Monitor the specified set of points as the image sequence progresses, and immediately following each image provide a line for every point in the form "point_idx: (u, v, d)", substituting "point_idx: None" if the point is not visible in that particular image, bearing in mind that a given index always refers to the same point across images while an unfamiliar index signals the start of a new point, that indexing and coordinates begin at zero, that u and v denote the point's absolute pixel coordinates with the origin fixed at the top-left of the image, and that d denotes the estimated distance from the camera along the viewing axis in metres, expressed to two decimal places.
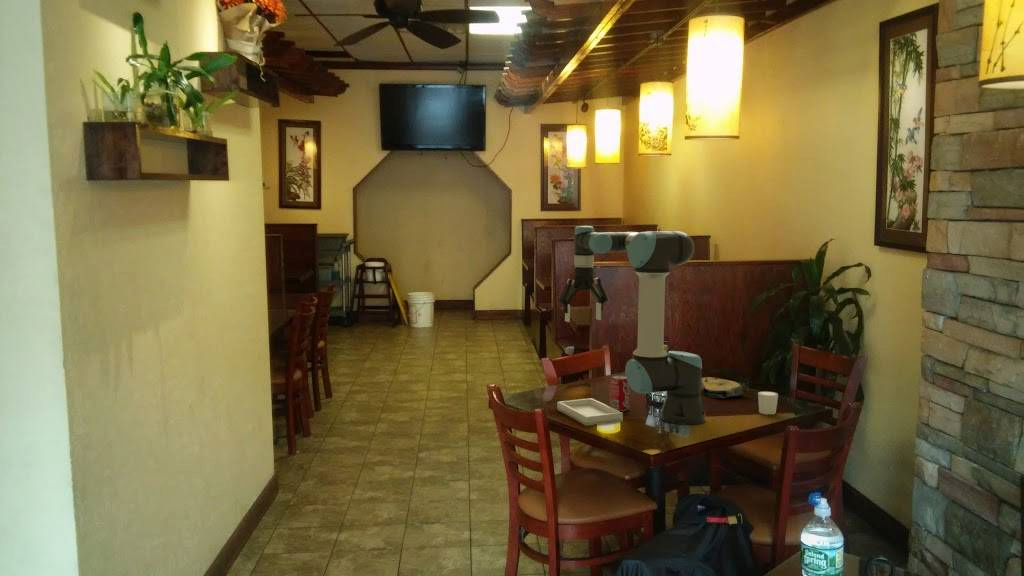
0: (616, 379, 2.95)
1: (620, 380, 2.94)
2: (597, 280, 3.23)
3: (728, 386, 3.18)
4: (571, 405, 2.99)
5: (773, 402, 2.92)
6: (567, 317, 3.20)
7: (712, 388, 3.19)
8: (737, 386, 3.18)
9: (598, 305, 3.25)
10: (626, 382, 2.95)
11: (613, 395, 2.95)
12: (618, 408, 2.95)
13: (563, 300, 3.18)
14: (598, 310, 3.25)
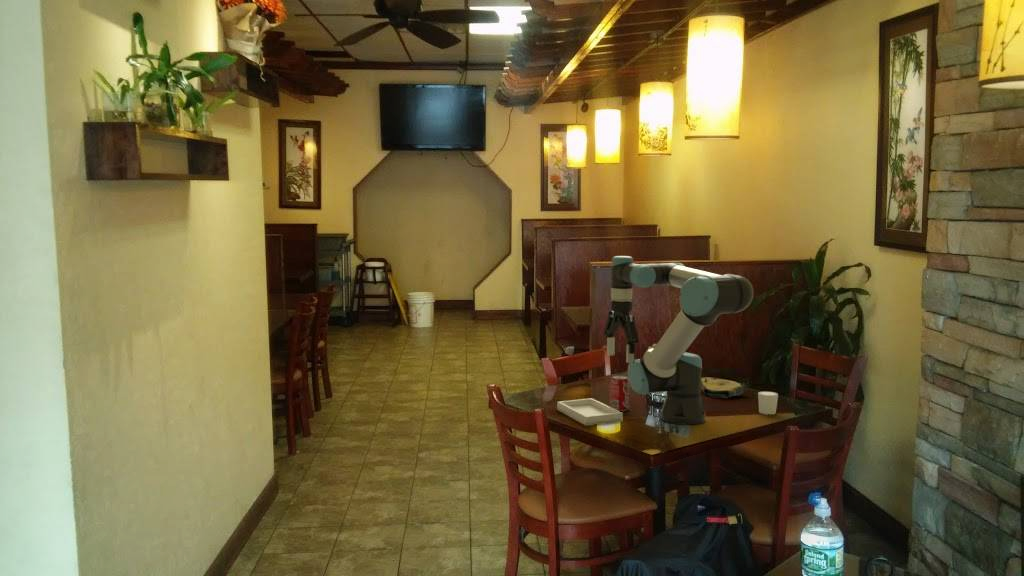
0: (616, 379, 2.95)
1: (620, 380, 2.94)
2: None
3: (729, 386, 3.18)
4: (571, 405, 2.99)
5: (773, 402, 2.92)
6: None
7: (714, 388, 3.18)
8: (738, 385, 3.18)
9: None
10: (626, 382, 2.95)
11: (613, 395, 2.95)
12: (618, 408, 2.95)
13: (605, 331, 3.04)
14: None
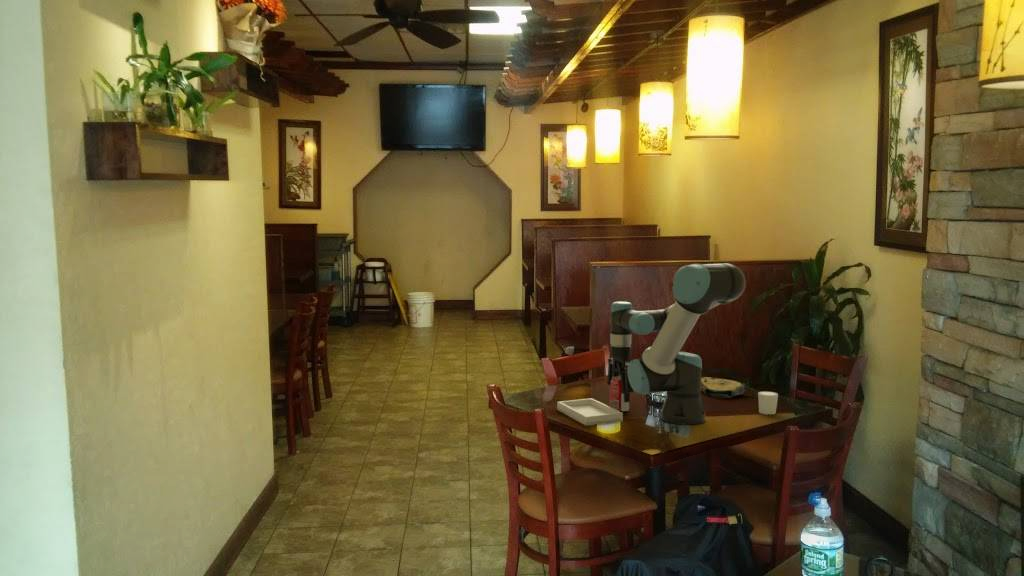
0: (616, 379, 2.95)
1: (620, 380, 2.94)
2: None
3: (731, 386, 3.19)
4: (571, 405, 2.99)
5: (773, 402, 2.92)
6: None
7: (716, 388, 3.18)
8: (739, 385, 3.19)
9: None
10: None
11: (613, 395, 2.95)
12: (618, 408, 2.95)
13: (608, 381, 3.03)
14: None
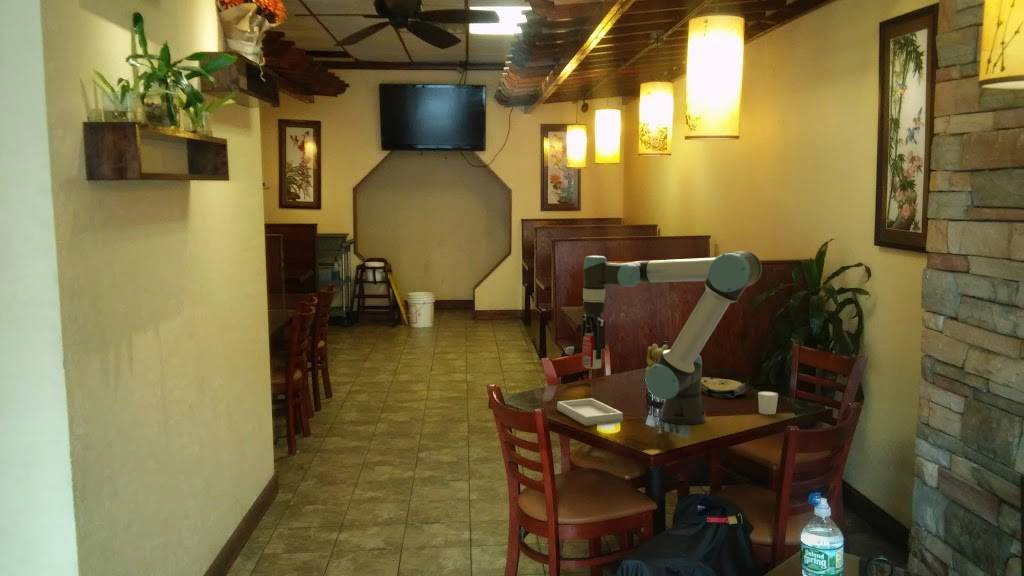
0: (588, 335, 2.86)
1: (592, 336, 2.86)
2: None
3: (733, 385, 3.19)
4: (571, 405, 2.99)
5: (773, 402, 2.92)
6: None
7: (718, 388, 3.18)
8: (740, 384, 3.21)
9: None
10: None
11: (585, 352, 2.87)
12: (590, 365, 2.86)
13: (581, 338, 2.94)
14: None
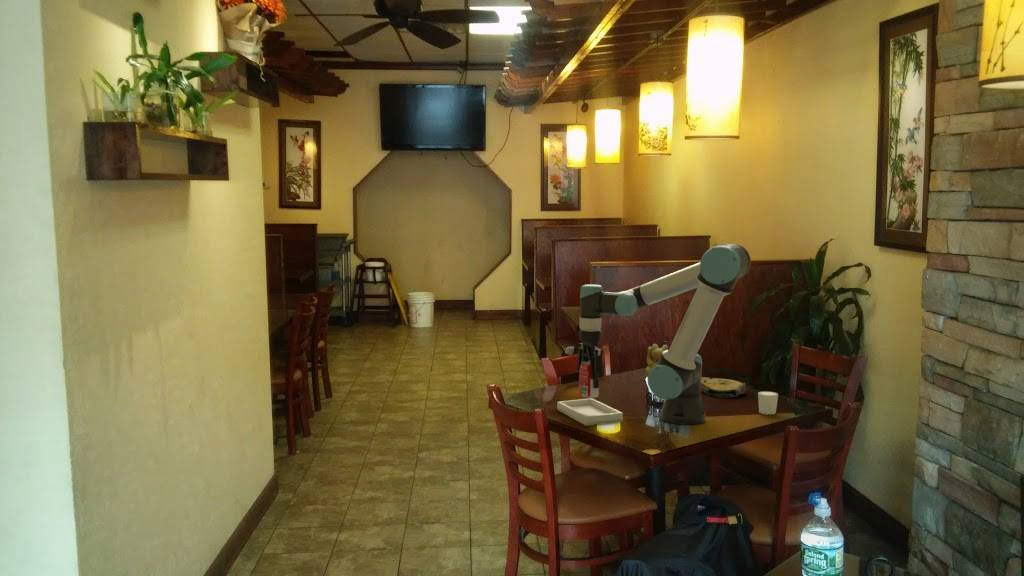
0: (585, 364, 2.86)
1: (589, 365, 2.86)
2: None
3: (733, 385, 3.20)
4: (571, 405, 2.99)
5: (773, 402, 2.92)
6: None
7: (720, 388, 3.19)
8: (740, 384, 3.21)
9: None
10: None
11: (582, 381, 2.87)
12: (587, 394, 2.86)
13: (577, 367, 2.94)
14: None
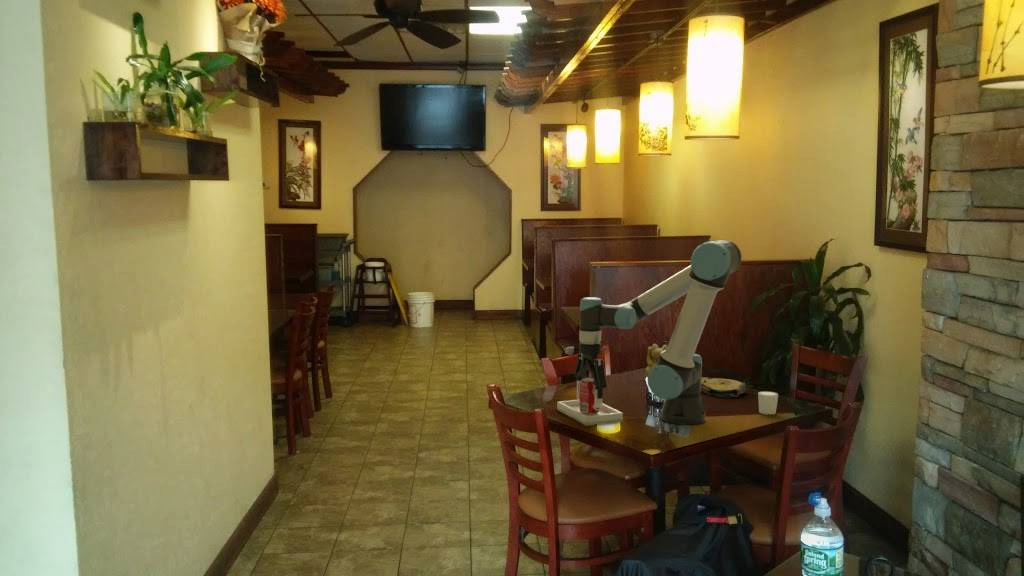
0: (586, 381, 2.87)
1: (590, 382, 2.86)
2: None
3: (734, 384, 3.21)
4: (571, 405, 2.99)
5: (773, 402, 2.92)
6: None
7: (721, 388, 3.19)
8: (740, 383, 3.22)
9: None
10: None
11: (583, 398, 2.87)
12: (588, 411, 2.87)
13: (574, 374, 2.97)
14: None
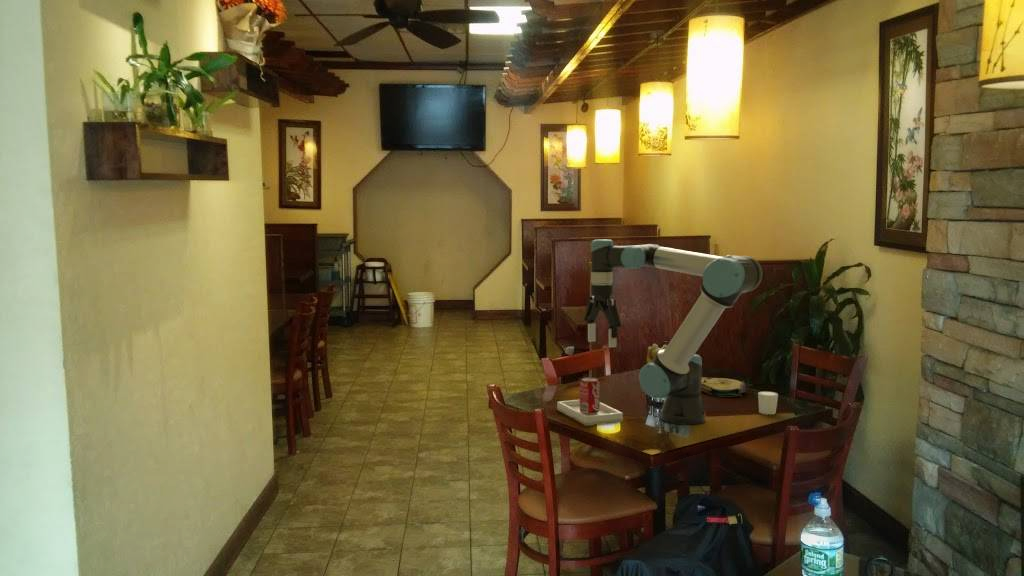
0: (585, 381, 2.86)
1: (589, 382, 2.86)
2: None
3: (735, 384, 3.21)
4: (571, 405, 2.99)
5: (773, 402, 2.92)
6: None
7: (723, 388, 3.19)
8: (740, 382, 3.23)
9: None
10: (596, 384, 2.86)
11: (583, 398, 2.87)
12: (588, 411, 2.87)
13: (585, 317, 2.98)
14: None
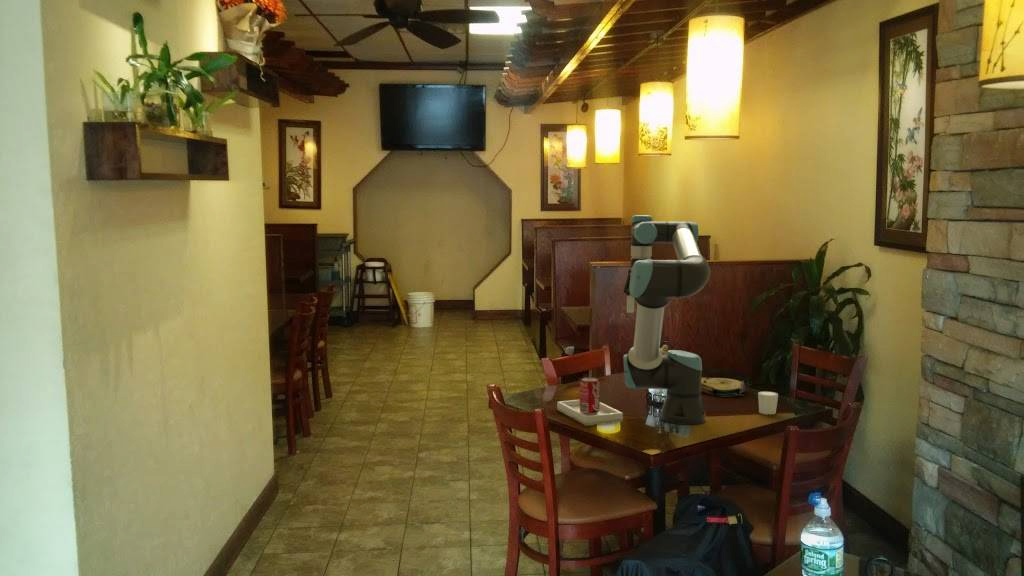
0: (585, 381, 2.86)
1: (590, 382, 2.86)
2: None
3: (735, 383, 3.22)
4: (571, 405, 2.99)
5: (773, 402, 2.92)
6: None
7: (724, 388, 3.19)
8: (740, 382, 3.24)
9: None
10: (596, 384, 2.86)
11: (583, 398, 2.87)
12: (588, 411, 2.87)
13: (624, 289, 3.13)
14: None
